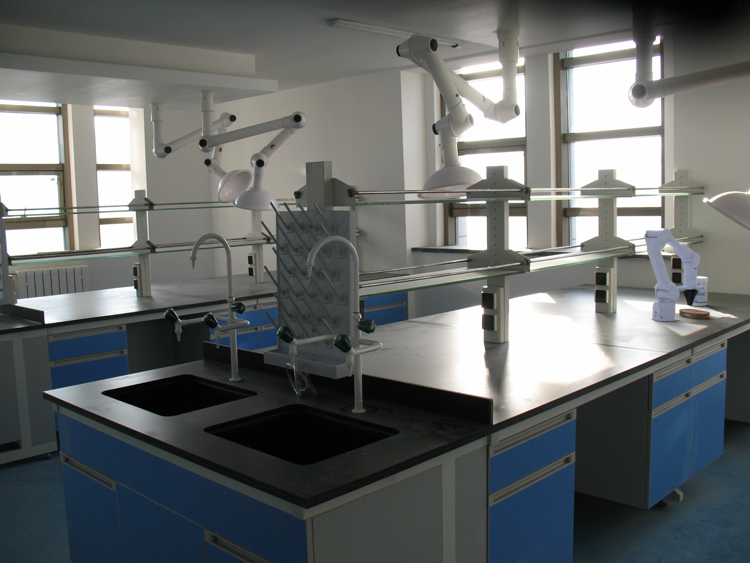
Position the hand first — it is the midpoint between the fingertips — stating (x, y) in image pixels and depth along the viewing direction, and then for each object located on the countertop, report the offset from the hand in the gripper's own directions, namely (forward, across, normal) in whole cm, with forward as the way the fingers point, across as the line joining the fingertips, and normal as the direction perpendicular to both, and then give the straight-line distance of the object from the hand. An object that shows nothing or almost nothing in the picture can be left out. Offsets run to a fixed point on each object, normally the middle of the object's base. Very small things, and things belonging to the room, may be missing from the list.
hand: (689, 305), depth 321 cm
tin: (+4, +6, 0) cm, 7 cm away
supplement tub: (+6, +22, +28) cm, 36 cm away
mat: (+5, +12, 0) cm, 14 cm away
